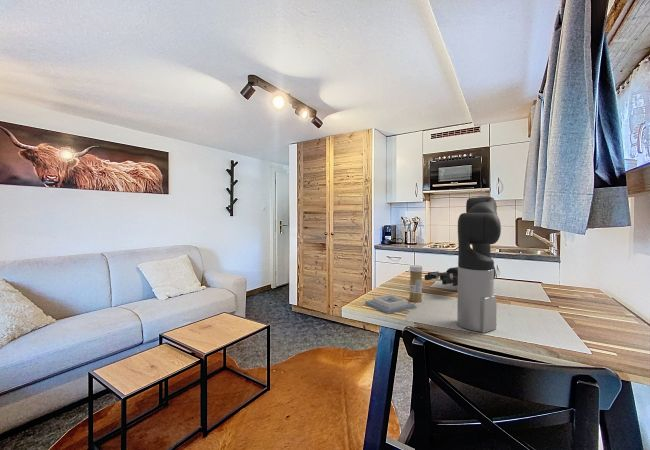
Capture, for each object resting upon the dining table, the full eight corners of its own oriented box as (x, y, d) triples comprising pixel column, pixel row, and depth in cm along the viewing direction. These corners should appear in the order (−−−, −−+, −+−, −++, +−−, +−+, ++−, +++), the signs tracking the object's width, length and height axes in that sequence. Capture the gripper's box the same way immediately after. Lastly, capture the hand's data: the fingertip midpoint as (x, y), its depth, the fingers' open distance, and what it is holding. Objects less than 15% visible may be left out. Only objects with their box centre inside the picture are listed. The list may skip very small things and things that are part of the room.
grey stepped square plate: (415, 307, 97) (415, 300, 97) (387, 313, 91) (387, 306, 91) (391, 298, 108) (392, 292, 108) (365, 303, 102) (365, 297, 101)
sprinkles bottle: (407, 299, 108) (407, 264, 107) (418, 298, 108) (418, 264, 108) (413, 302, 103) (413, 267, 103) (424, 302, 104) (424, 266, 104)
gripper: (445, 264, 125) (419, 267, 117) (475, 269, 112) (449, 273, 104) (445, 281, 125) (419, 285, 117) (475, 288, 112) (449, 293, 104)
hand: (433, 279), depth 110 cm, fingers open, 8 cm apart
